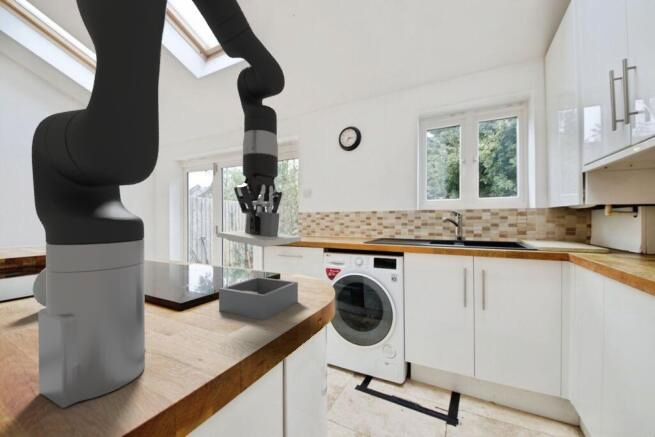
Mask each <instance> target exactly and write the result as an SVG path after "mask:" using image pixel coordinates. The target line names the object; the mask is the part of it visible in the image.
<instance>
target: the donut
mask: <svg viewBox="0 0 655 437" xmlns="http://www.w3.org/2000/svg"><path fill="white" fill-rule="evenodd" d="M32 294H33V295H32V296H33V298H34V299H35V300H36V302H37V303H39V304H40V305H41V306H43V307H46V267H45V268H43V269H42V270H41V271H40V272H39V273H38V275H36V277H35V280H34V282H33V285H32Z"/></svg>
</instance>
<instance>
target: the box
mask: <svg viewBox="0 0 655 437" xmlns="http://www.w3.org/2000/svg"><path fill="white" fill-rule="evenodd" d="M244 290H245V291H252V292H258V294H257V293H251V292H245V291H244ZM298 291H299V282H298V281H291V280H286V279H285V280H283V279H275V278H269V277H261V276H256V277H252V278H249V279H246V280H242V281H239V282H236V283H232V284H230V285H226V286H223V287H220V288H218V311H219V312H223V313H224V312H225V313H229V314H233V315H238V316H243V317H247V318H251V319H256V320H261V321H266V320H267V319H269V318H271V317H273V316H275V315H277V314H279V313H281V312H282V311H284V310H286V309H288V308H290V307H291V306H293V305H295V304H297V303H298V302H299V297H298V296H299V292H298Z"/></svg>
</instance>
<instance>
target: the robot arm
mask: <svg viewBox="0 0 655 437" xmlns="http://www.w3.org/2000/svg"><path fill="white" fill-rule="evenodd" d="M75 2H76V6H77V9H78V13H79V15H80V17H81V19H82V22H83V25H84V27H85V29H86V32H87V33H88V35H89V37H90V39H91V41H92V44H93V47H94V50H95V55H96V56H95V58H96V59H95V60H96V61H95V74H94V79H93V85H92V90H91V94H90V97H89V100H88V104H87V106H86V107H85V108H80V109H75V110H67V111H62V112H56V113H53V114H51V115H49V116H46V117H45V118H43V119H42V120H41V121H40V122H39V123H38V125H37V126H36V128H35V130H34V133H33V137H32V140H31V141H32V142H31V170H32V183H33V198H34V207H35V213H36V215H37V218H38V220H39V222H40V223H41V225H42V226H43V229H44V232H45V268H46V306H45V307H46V308H45V307H44V308H41V309H39V311H38V316H37V318H38V319H37V322H38V392H39V393H40V394H41V395H43V396H44V397H46V398H47V399H48V400H50V401H52V402H53V403H54V404H56V406H57V405H58V406H59V407H60V408H61V409H63V408H67V407H70V406H71V405H73V404H75V403H78V402H79V403H80V402H81V401H82V402H83V401H86V400H90V399H94V398H97V397H100V396H103V395H106V394H108V393H110V392H113V391H116V390H117V389H120V388H122V387H124V386H126V385H127V384H129V383H131V382H132V381H134V380H135V379H136V378H137V377H139V376H140V375H141V373H142V372H143V371H144V369H145V366H146V365H145V364H146V361H145V360H146V346H145V344H146V336H145V335H146V334H145V333H146V332H145V331H146V330H145V329H146V328H145V324H146V323H145V322H146V321H145V320H146V319H145V314H146V311H145V307H146V306H145V302H146V301H145V224H144V221H143V219H142V218H141V217H140V216H138V215H136V214H134V213H133V212H130V211H129V210H128V209H127V208H126V207H125V205H124V204H123V202H122V199H121V198H122V197H121V188H120V186H122V187H123V186H132V185H137V184H140V183H142V182H144V181H146V180H147V179H148V178H149V177H150V176H152V173H153V172H154V170H155V168H156V166H157V163H158V158H159V151H160V150H159V149H160V114H159V110H160V109H159V106H160V105H159V104H160V103H159V83H160V74H161V73H160V72H161V59H162V58H161V57H162V45H163V37H164V30H165V26H166V17H167V8H168V0H75ZM191 2H192V3H193V4H194V6H195V7H196V9H197V10H198V12H199V13H200V15H201V16H202V17H203V19H204V21H205V23H206V24H207V26H208V28H209V29H210V31H211V34H213V36H214V37H215V39H216V41H217V42H218V44H219V45H220V46H219V47H221V49H222V51H223V52H224V53H225V55H226V56H227V57H229V58H231V59H243V60H245V62H247V63H248V64H249V65H248V66H245V67H243V68H241V69H240V71H239V72H238V75H237V78H236V88H237V93H238V96H239V100H240V104H241V108H242V111H243V115H244V116H243V123H244V125H243V140H242V141H243V142H242V176H244V177H245V179H244V182H243V184H242V185H237V186H234V190H233V191H234V193H235V195H236V198H237V201H238V205H239V207H240V211H241V213H242V214H246V216H247V215H248V216H249V217H250V233H251V234H260V217H259V216H260V213H261V211H262V212H270V213H278V210H279V207H280V203H281V201H282V198H283V192H282V191H278V190H277V189H276V184H275V179H276V178H278V175H279V173H278V172H279V145H278V136H277V135H278V118H277V117H278V116H277V112H276V111H275V109H274V108H272V107H271V106H270V105H265V104H264V103H263V101H264V100H265V99H267V98H271V97H275V96H277V95H279V94H281V93H282V92H283V91H284V89H285V83H286V81H285V80H286V79H285V76H284V72H283V69H282V66H281V65H280V64H279V62H278V61H277V59H276V58H275V57H274V56H273V55H272V54H271V53H270V51H269V50H268V49H267V47H265V45H264V44H263V43H262V41H261V40H260V39H259V38H258V37H257V35H256V34H255V33H254V31H253V30H252V27H251V24H250V23H249V21H248V19H247V17H246V16H245V13H244V11H243V10H242V8H241V5H240V4H239V2H238V1H237V0H191ZM265 207H266V208H265Z"/></svg>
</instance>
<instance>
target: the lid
mask: <svg viewBox="0 0 655 437" xmlns="http://www.w3.org/2000/svg"><path fill="white" fill-rule="evenodd" d="M259 217H260V234H251V233H250V217H249V216H248V215H247V214H246V218H245V227H244V228H245V229H244V230H234V231H232V230H231V231H217V232H216V238H220V239H226V241H229V242H233V243H234V242H235V243H238V244H239V243H240V244H245V245H251V246H256V247H261V248H267V247H274V246H279V245H280V246H281V245H287V244H292V243H295V242H301V241H302V236H299V235H293V234H286V233H281V232H279V223H280V213H278V212H277V213H270V212H262V211H261V213H260V216H259Z"/></svg>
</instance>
